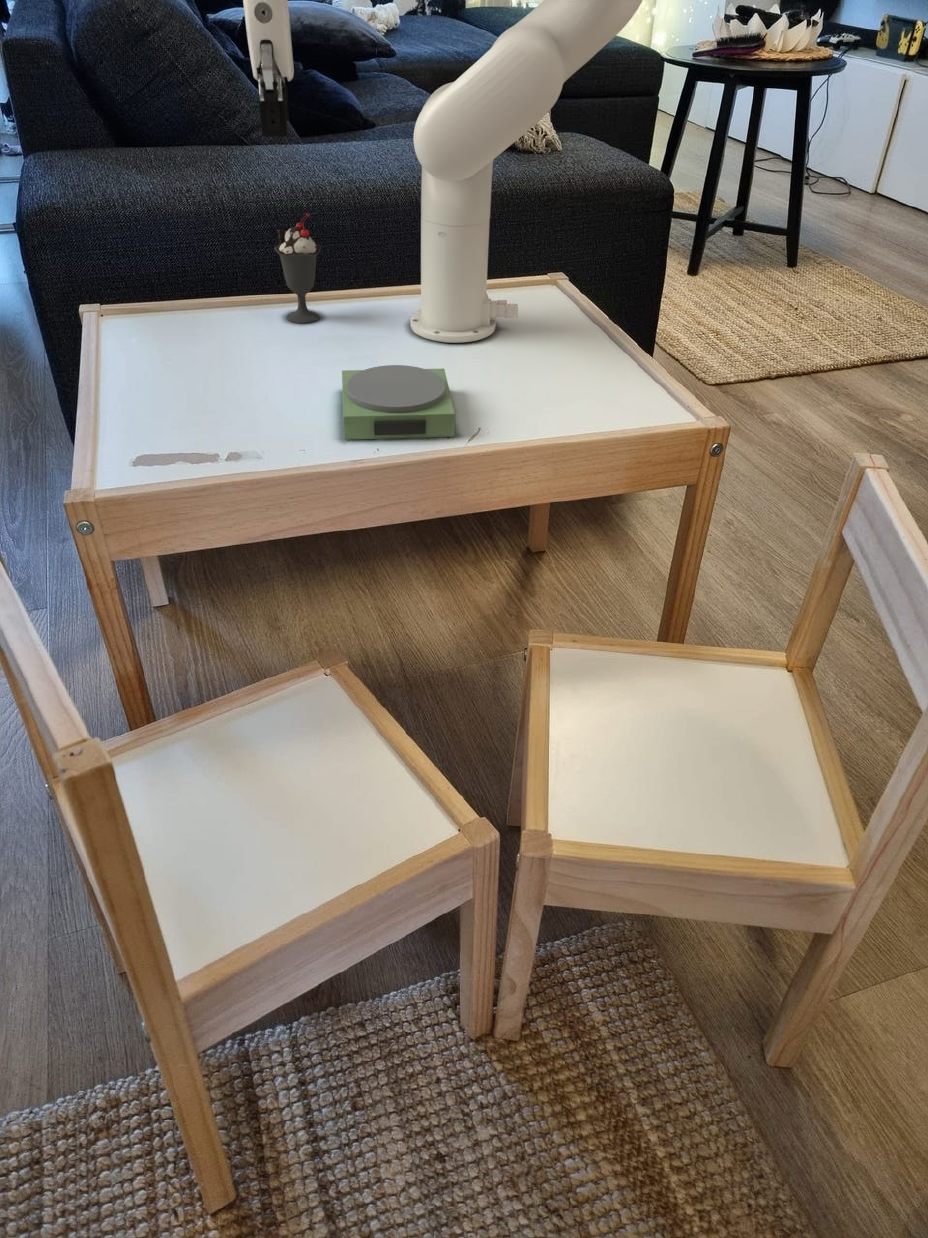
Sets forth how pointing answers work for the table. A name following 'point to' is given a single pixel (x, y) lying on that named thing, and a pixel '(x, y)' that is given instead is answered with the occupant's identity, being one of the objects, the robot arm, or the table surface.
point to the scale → (397, 403)
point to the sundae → (299, 267)
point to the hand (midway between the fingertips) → (276, 128)
